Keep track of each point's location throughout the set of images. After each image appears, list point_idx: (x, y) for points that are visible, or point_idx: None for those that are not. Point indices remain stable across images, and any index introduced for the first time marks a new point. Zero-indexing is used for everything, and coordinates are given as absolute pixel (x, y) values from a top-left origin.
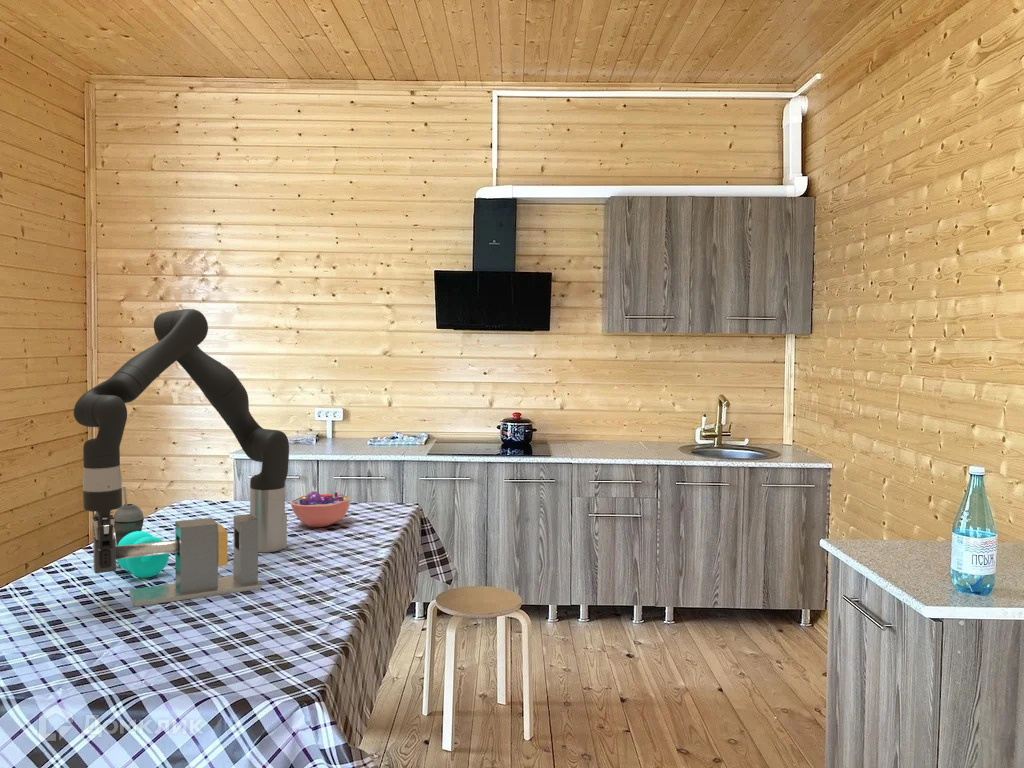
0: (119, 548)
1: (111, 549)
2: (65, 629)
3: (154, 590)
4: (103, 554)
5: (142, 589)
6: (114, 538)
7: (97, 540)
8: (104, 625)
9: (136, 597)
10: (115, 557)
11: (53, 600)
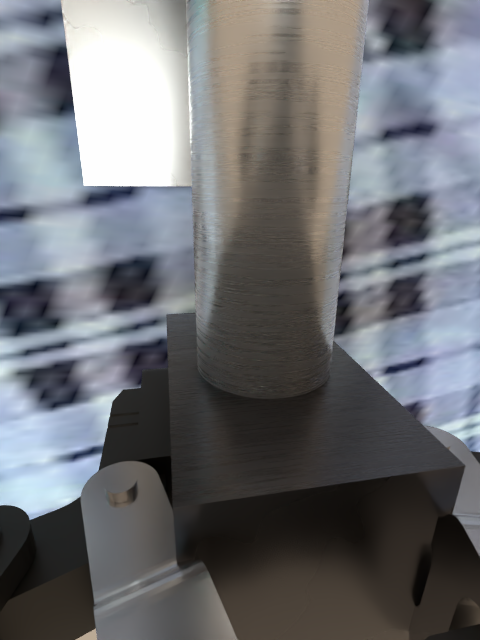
0: (326, 346)
1: (437, 430)
2: (413, 411)
3: (162, 51)
4: None
5: (113, 116)
6: (409, 482)
7: (413, 637)
8: (450, 309)
9: None
10: (338, 349)
11: (72, 470)
